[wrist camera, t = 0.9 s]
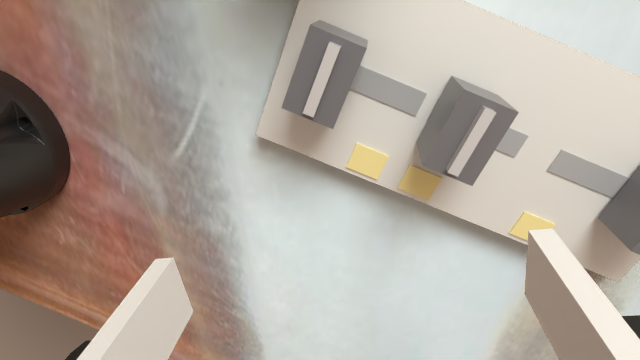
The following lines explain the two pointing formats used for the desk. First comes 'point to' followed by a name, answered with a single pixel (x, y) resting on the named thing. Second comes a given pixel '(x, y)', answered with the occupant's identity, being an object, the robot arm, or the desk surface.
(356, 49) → the slider
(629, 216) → the slider
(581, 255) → the console
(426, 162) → the slider
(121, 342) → the robot arm
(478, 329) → the desk surface
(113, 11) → the desk surface
